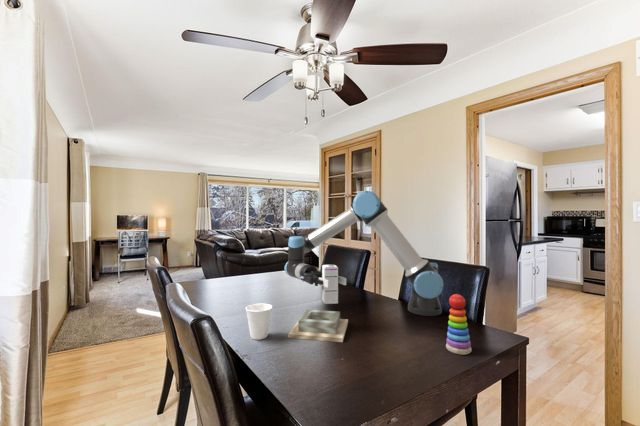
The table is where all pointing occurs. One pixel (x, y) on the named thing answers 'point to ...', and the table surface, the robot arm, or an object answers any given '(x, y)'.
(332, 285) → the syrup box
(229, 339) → the table surface
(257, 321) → the cup
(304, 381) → the table surface
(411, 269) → the robot arm
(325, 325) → the socket block
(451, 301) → the stacking toy
